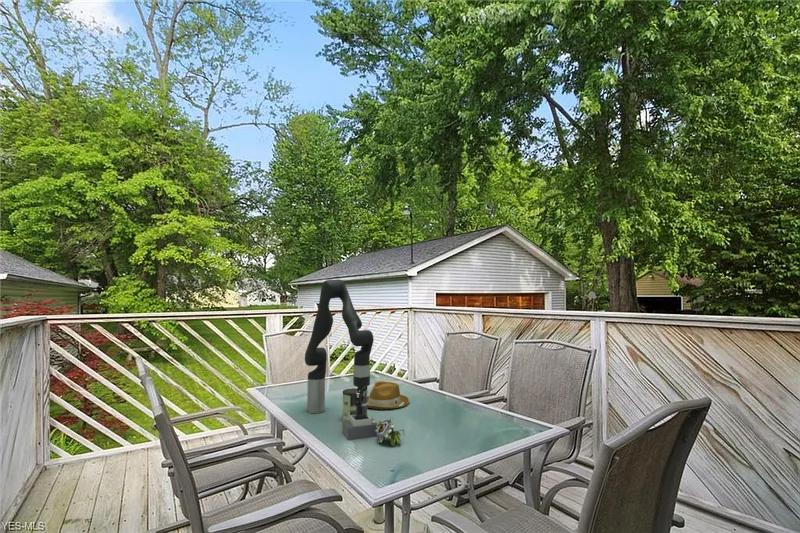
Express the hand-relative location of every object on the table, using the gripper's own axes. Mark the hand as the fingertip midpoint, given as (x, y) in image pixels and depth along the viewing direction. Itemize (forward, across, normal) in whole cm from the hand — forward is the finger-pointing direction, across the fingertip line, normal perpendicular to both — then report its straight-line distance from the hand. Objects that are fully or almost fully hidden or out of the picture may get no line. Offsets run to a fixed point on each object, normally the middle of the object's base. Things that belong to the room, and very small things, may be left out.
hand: (361, 412), depth 179 cm
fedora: (+10, -49, +2) cm, 50 cm away
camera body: (+9, 0, 0) cm, 9 cm away
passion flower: (+10, +7, +14) cm, 18 cm away
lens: (+3, 0, 0) cm, 3 cm away
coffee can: (+10, -19, -9) cm, 23 cm away
